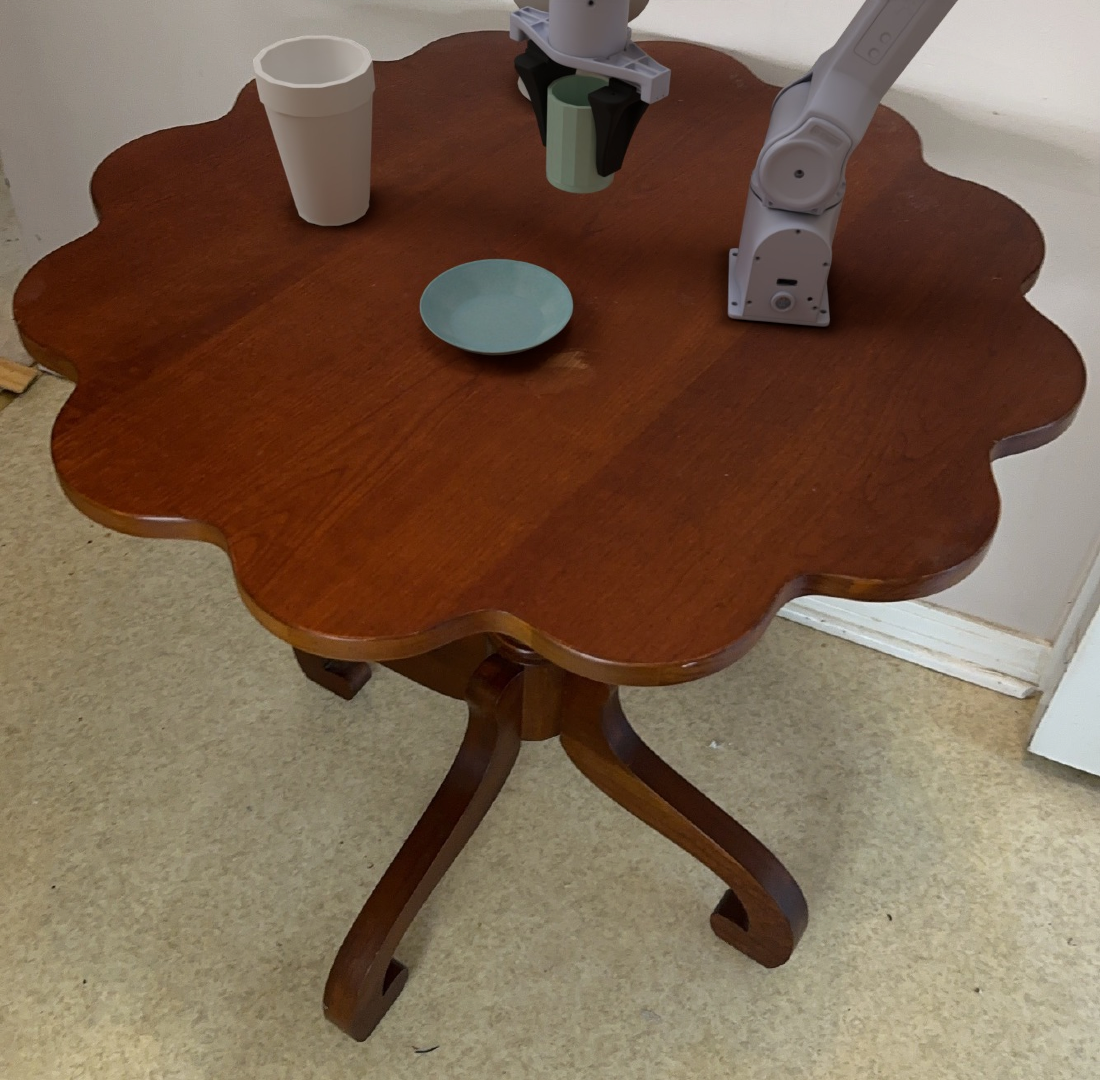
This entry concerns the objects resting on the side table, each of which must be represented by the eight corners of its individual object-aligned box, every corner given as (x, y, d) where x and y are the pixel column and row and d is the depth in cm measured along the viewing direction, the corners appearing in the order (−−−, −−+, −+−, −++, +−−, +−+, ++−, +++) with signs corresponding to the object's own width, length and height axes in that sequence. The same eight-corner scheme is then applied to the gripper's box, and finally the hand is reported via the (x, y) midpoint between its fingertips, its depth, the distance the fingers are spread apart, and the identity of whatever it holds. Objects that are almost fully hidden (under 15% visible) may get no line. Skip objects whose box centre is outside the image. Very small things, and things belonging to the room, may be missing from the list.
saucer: (519, 394, 80) (519, 370, 79) (390, 339, 84) (388, 315, 83) (599, 313, 87) (601, 289, 85) (477, 266, 91) (476, 242, 89)
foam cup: (331, 168, 101) (311, 25, 92) (408, 200, 98) (395, 55, 88) (256, 212, 96) (227, 65, 86) (335, 248, 92) (313, 99, 83)
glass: (628, 176, 88) (635, 92, 83) (581, 201, 85) (585, 115, 80) (579, 151, 90) (583, 67, 85) (531, 174, 88) (532, 89, 83)
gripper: (706, -7, 75) (684, 174, 85) (556, -67, 82) (552, 108, 92) (638, 22, 72) (623, 207, 82) (487, -42, 78) (491, 136, 88)
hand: (581, 157), depth 87 cm, fingers closed on glass, 5 cm apart
